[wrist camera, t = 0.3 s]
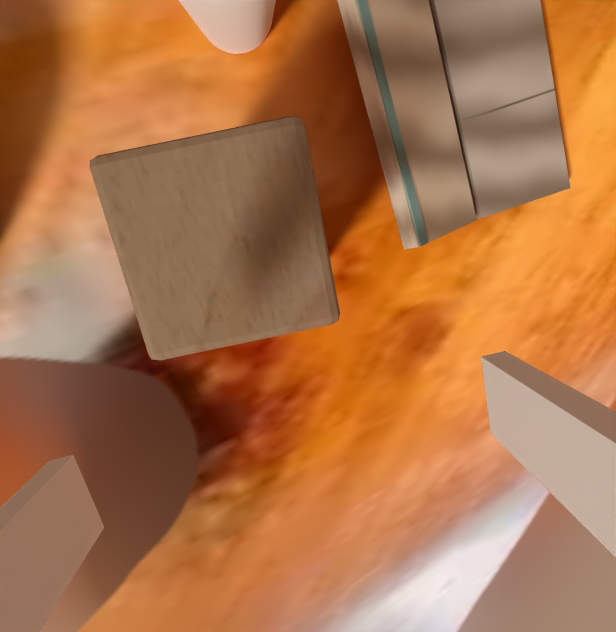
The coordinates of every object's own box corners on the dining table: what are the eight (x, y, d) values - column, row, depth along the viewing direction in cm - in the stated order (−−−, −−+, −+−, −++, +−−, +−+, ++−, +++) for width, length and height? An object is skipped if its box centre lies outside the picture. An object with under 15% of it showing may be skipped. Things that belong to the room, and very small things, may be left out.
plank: (294, -160, 26) (307, -188, 25) (380, -132, 31) (396, -154, 29) (404, 249, 33) (419, 246, 31) (461, 223, 37) (477, 219, 36)
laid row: (393, -133, 31) (399, -153, 29) (498, -171, 31) (510, -193, 29) (471, 219, 38) (480, 218, 36) (558, 189, 37) (570, 187, 36)
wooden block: (294, 177, 36) (303, 110, 16) (314, 278, 38) (343, 324, 19) (193, 198, 36) (81, 155, 16) (219, 298, 38) (147, 365, 19)
